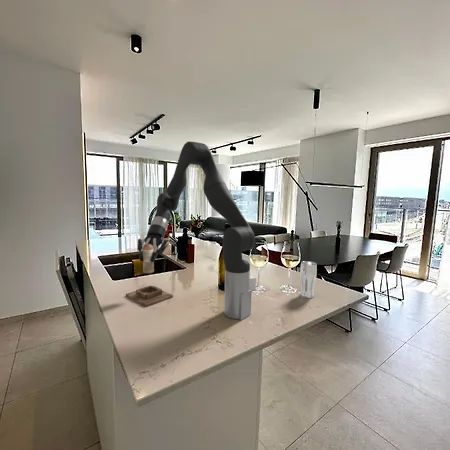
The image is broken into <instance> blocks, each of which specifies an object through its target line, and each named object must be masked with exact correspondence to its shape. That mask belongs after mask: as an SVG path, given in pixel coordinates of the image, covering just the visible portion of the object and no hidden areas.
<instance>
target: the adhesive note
mask: <svg viewBox="0 0 450 450" xmlns="http://www.w3.org/2000/svg"><path fill="white" fill-rule="evenodd" d="M249 290H252V291H256V290H257V277H255V276H254V275H252V274H251V273H250V281H249Z"/></svg>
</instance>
